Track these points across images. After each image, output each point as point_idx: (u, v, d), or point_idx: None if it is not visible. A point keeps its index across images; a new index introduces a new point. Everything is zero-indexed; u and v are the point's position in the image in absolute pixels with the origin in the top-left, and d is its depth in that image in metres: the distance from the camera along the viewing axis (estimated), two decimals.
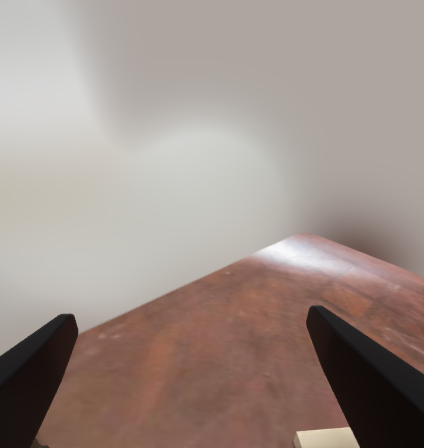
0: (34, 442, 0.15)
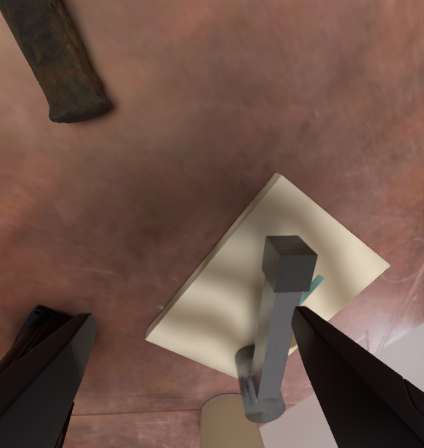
0: None
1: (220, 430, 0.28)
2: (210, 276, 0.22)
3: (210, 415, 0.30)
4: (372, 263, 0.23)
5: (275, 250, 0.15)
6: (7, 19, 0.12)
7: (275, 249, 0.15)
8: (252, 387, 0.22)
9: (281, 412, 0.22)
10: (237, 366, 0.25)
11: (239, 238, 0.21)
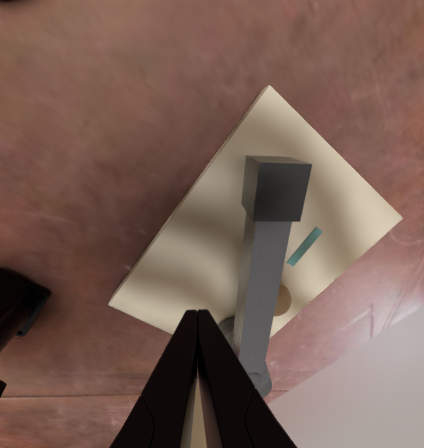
0: None
1: (199, 415, 0.24)
2: (183, 224, 0.18)
3: None
4: (381, 214, 0.19)
5: (254, 161, 0.11)
6: None
7: (255, 160, 0.11)
8: None
9: (267, 391, 0.18)
10: None
11: (217, 174, 0.17)
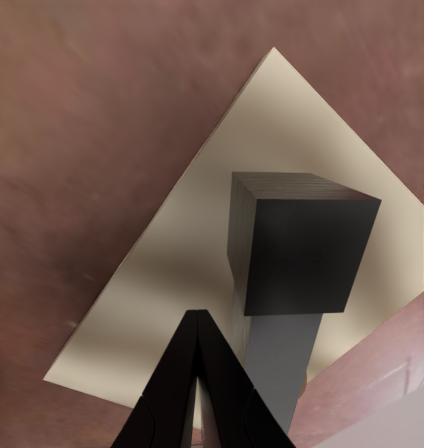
0: None
1: None
2: (142, 272, 0.12)
3: None
4: None
5: (246, 191, 0.05)
6: None
7: (248, 188, 0.05)
8: None
9: None
10: (202, 422, 0.15)
11: (190, 196, 0.10)
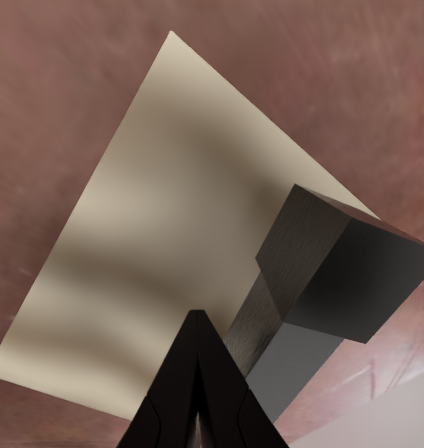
0: None
1: None
2: (68, 267, 0.12)
3: None
4: None
5: (328, 206, 0.05)
6: None
7: (331, 204, 0.05)
8: None
9: None
10: None
11: (106, 190, 0.10)
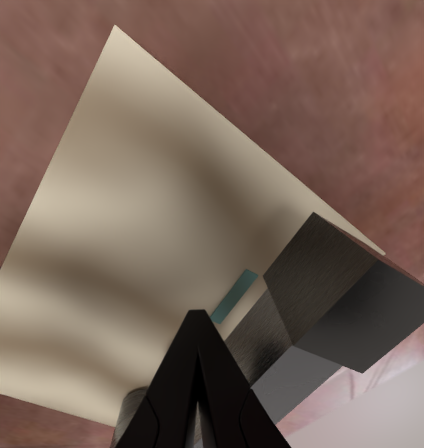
0: None
1: None
2: (27, 269, 0.11)
3: None
4: None
5: (351, 243, 0.06)
6: None
7: (354, 241, 0.06)
8: None
9: None
10: (121, 417, 0.14)
11: (60, 190, 0.10)
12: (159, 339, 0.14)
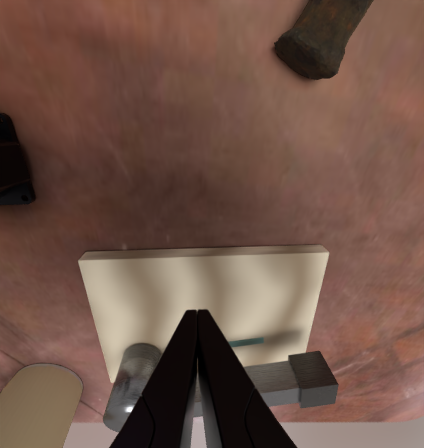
0: None
1: (37, 404, 0.22)
2: (203, 266, 0.20)
3: (35, 380, 0.24)
4: None
5: (331, 373, 0.19)
6: None
7: (332, 374, 0.19)
8: None
9: None
10: (139, 355, 0.22)
11: (257, 262, 0.20)
12: None
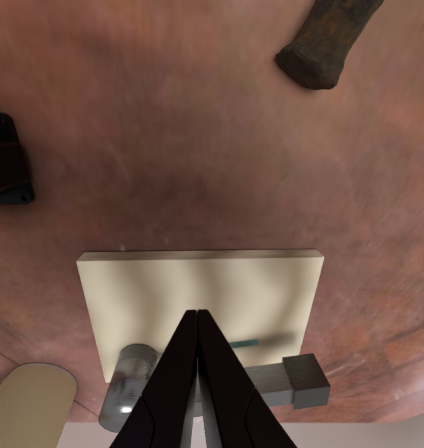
0: None
1: (32, 404, 0.22)
2: (201, 269, 0.20)
3: (29, 380, 0.23)
4: None
5: (324, 376, 0.19)
6: None
7: None
8: None
9: None
10: (135, 355, 0.22)
11: (254, 265, 0.21)
12: None
